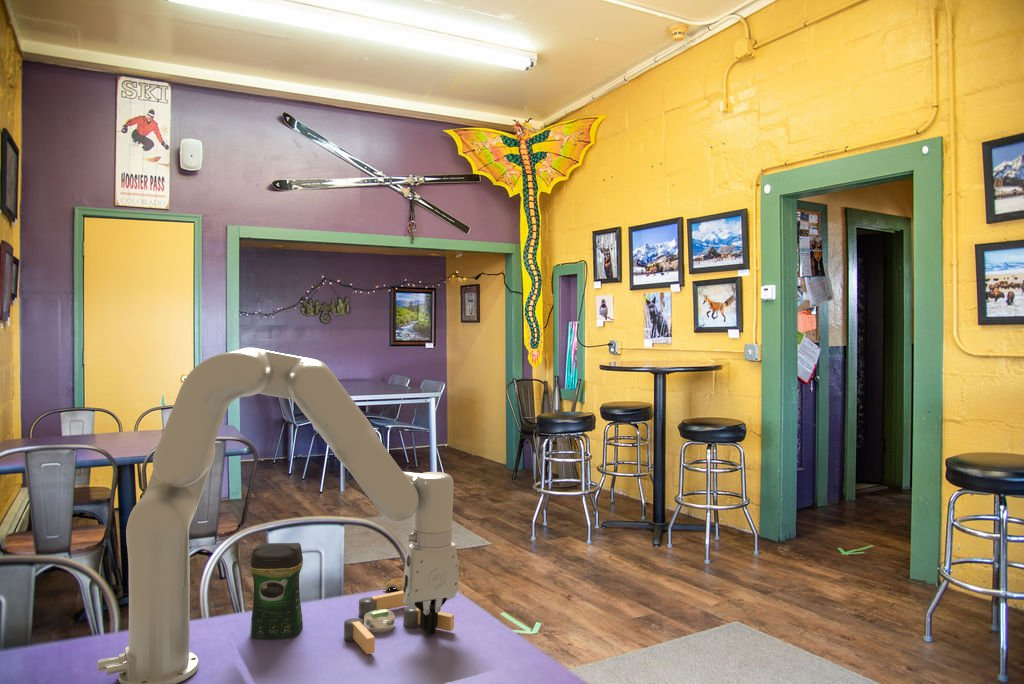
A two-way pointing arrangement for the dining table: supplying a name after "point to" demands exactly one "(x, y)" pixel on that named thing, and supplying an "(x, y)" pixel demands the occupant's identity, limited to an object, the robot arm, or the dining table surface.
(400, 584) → the pastry
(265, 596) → the coffee jar
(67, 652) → the dining table surface
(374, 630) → the level plate
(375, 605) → the knob back
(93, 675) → the dining table surface
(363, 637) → the knob left
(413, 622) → the knob right
